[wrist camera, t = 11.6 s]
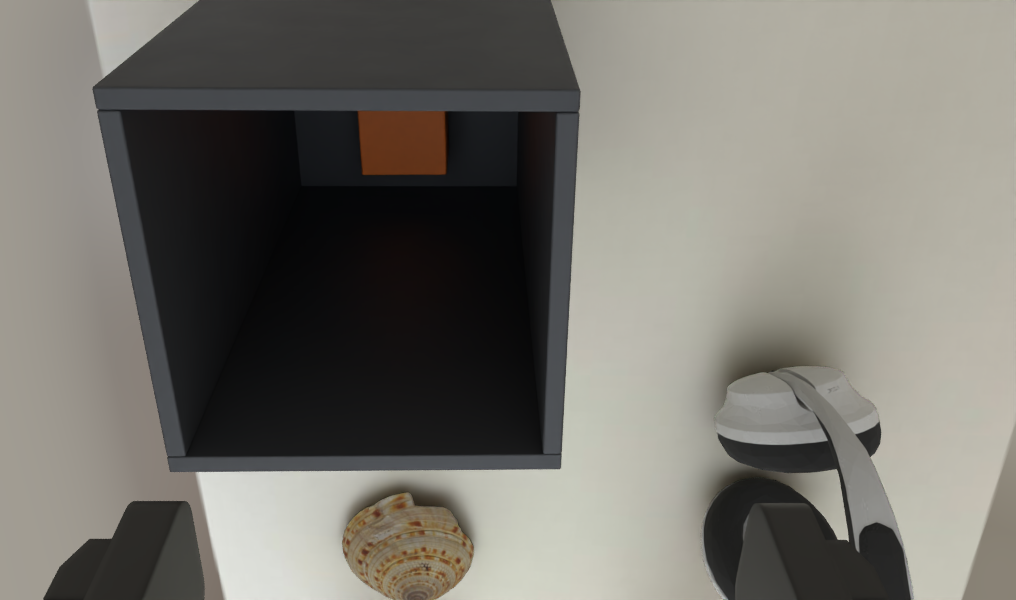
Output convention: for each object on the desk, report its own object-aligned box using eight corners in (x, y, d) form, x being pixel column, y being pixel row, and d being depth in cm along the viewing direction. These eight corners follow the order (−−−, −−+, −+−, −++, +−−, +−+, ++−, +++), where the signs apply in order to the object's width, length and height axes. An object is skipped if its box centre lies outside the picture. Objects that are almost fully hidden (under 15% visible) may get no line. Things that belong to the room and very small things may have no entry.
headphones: (705, 315, 53) (817, 579, 36) (853, 309, 54) (1035, 569, 36) (684, 565, 63) (765, 870, 45) (810, 559, 63) (938, 861, 45)
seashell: (452, 490, 56) (479, 617, 57) (461, 463, 62) (485, 579, 63) (319, 514, 57) (347, 639, 58) (340, 485, 62) (365, 599, 63)
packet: (359, 7, 44) (350, 24, 41) (445, 7, 44) (443, 24, 41) (369, 149, 47) (361, 175, 44) (448, 149, 48) (446, 175, 45)
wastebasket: (267, -56, 43) (90, 86, 23) (533, -54, 44) (580, 89, 24) (293, 191, 49) (169, 472, 29) (527, 192, 49) (560, 469, 30)
